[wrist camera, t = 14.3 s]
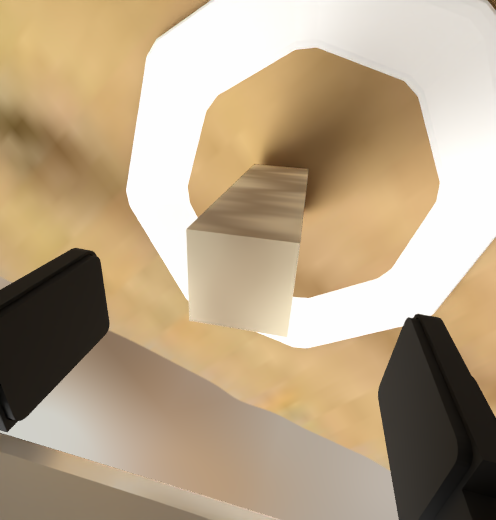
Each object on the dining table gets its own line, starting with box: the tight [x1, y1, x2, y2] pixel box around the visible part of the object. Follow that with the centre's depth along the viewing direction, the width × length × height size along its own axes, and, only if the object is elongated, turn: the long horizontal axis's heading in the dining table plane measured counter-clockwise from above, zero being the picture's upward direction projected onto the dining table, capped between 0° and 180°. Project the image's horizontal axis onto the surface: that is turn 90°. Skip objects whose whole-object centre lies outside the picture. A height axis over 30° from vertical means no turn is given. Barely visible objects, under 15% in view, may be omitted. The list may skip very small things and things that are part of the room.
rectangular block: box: [186, 164, 309, 337], centre depth 18 cm, size 4×4×14 cm
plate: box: [126, 0, 496, 348], centre depth 25 cm, size 28×28×2 cm
